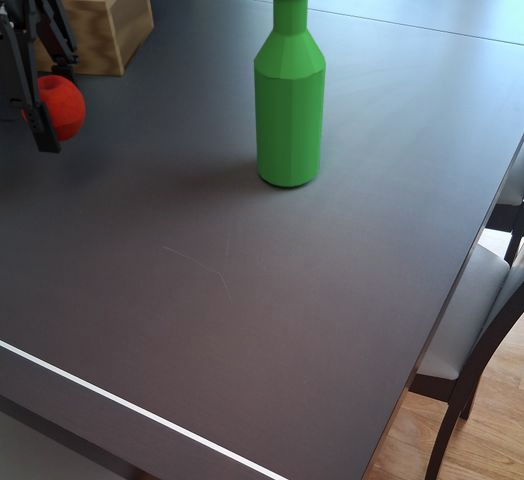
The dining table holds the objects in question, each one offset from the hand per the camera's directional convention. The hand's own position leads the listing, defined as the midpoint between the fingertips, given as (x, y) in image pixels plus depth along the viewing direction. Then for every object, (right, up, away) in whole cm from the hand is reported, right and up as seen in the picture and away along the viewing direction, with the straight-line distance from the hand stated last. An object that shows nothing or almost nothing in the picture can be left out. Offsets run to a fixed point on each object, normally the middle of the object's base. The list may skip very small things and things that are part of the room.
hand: (63, 131), depth 75 cm
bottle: (+30, -4, +6) cm, 31 cm away
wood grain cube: (-4, +28, +31) cm, 42 cm away
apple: (0, 0, 0) cm, 1 cm away
